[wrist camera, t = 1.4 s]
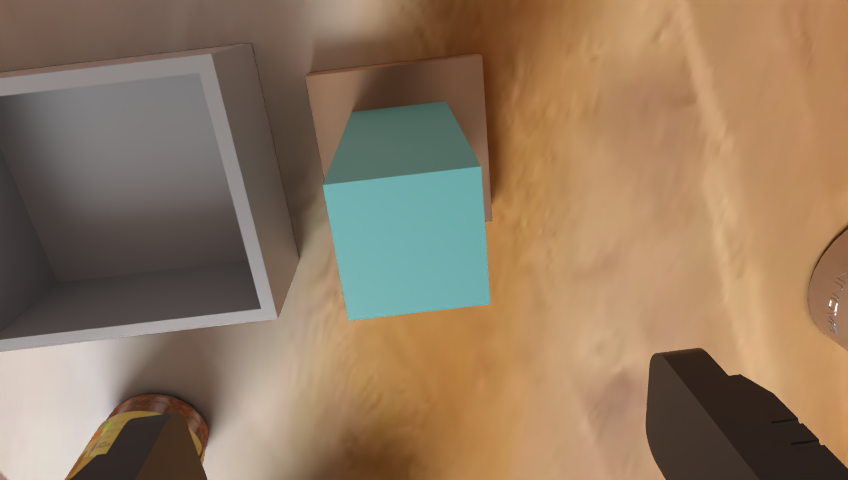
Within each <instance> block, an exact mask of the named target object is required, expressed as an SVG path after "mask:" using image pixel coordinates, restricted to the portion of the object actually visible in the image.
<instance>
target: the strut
mask: <svg viewBox="0 0 848 480" xmlns="http://www.w3.org/2000/svg"><path fill="white" fill-rule="evenodd" d="M323 191H324V196H325V201H326V206H327V212H328V217H329V222H330V227H331V233H332V238H333V243H334V248H335V254H336V259H337V264H338V269H339V275H340V280H341V285H342V290H343V296H344V301H345V306H346V311H347V316H348V321H352V320H360V319H369V318H377V317H385V316H394V315H402V314H411V313H419V312H428V311H436V310H444V309H453V308H461V307H470V306H478V305H486V304H490V294H489V279H488V264H487V248H486V233H485V218H484V203H483V188H482V173H481V165H480V163H479V162H478V160H477V158H476V156H475V154H474V152H473V150H472V149H471V147H470V145H469V143H468V141H467V139H466V137H465V136H464V134H463V132H462V130H461V128H460V126H459V124H458V122H457V121H456V119H455V117H454V115H453V113H452V111H451V109H450V108H449V106H448V104H447V102H446V101H443V102H435V103H426V104H418V105H409V106H400V107H392V108H383V109H375V110H366V111H358V112H351V114H350V117H349V119H348V122H347V124H346V127H345V129H344V132H343V134H342V137H341V140H340V142H339V145H338V147H337V150H336V152H335V155H334V157H333V160H332V162H331V165H330V167H329V170H328V172H327V175H326V177H325V180H324V182H323Z"/></svg>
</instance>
